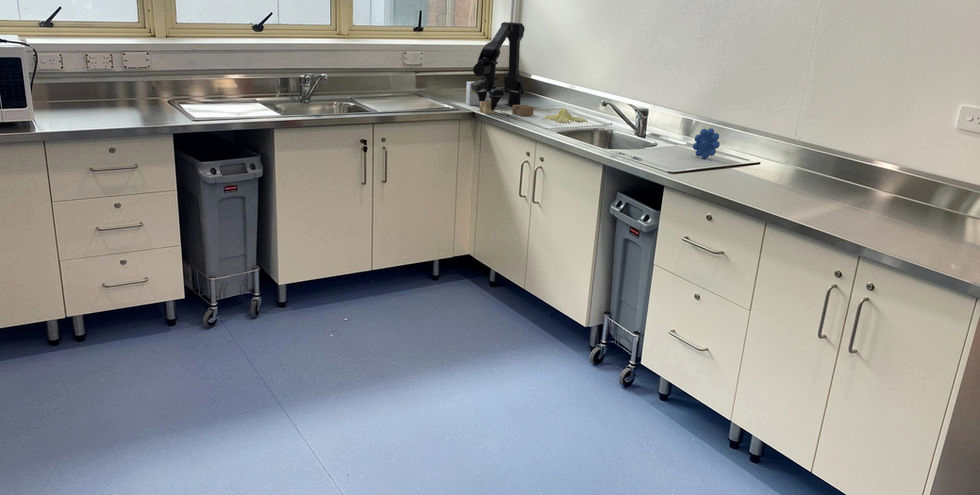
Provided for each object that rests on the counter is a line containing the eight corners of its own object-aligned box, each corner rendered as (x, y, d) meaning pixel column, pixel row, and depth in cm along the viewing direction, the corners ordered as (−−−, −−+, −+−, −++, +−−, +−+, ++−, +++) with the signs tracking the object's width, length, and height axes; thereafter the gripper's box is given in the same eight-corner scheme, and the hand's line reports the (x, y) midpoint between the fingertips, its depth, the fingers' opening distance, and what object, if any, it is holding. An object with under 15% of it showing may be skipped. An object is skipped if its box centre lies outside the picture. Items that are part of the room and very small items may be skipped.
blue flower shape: (723, 160, 312) (728, 129, 308) (712, 162, 308) (717, 131, 304) (698, 154, 320) (703, 124, 316) (687, 156, 316) (692, 125, 312)
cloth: (594, 122, 376) (595, 109, 374) (568, 126, 363) (569, 112, 361) (557, 115, 390) (558, 102, 388) (531, 118, 378) (531, 104, 376)
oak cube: (479, 112, 382) (479, 101, 380) (488, 111, 385) (489, 100, 383) (485, 113, 378) (485, 103, 376) (494, 113, 381) (494, 102, 379)
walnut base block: (512, 113, 383) (512, 105, 381) (524, 113, 386) (524, 104, 385) (520, 116, 377) (521, 107, 376) (533, 115, 381) (533, 107, 380)
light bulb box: (485, 103, 407) (486, 81, 403) (489, 105, 401) (491, 83, 397) (465, 103, 403) (466, 80, 400) (468, 105, 397) (470, 83, 394)
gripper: (463, 72, 379) (461, 105, 384) (485, 77, 364) (483, 112, 369) (483, 71, 385) (481, 105, 390) (506, 77, 370) (503, 111, 375)
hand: (487, 108), depth 381 cm, fingers open, 9 cm apart
